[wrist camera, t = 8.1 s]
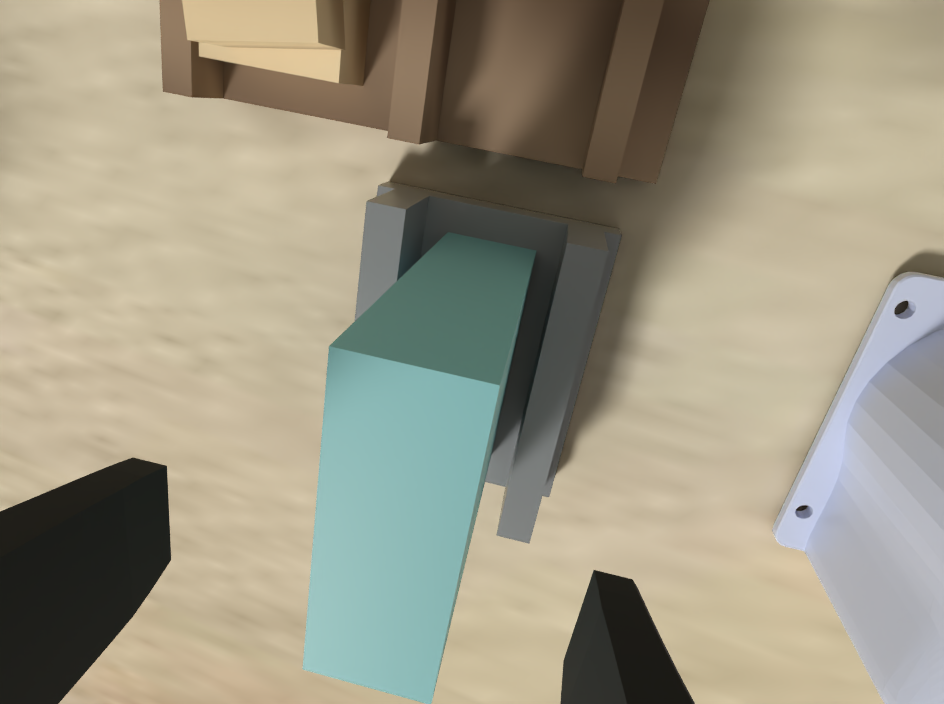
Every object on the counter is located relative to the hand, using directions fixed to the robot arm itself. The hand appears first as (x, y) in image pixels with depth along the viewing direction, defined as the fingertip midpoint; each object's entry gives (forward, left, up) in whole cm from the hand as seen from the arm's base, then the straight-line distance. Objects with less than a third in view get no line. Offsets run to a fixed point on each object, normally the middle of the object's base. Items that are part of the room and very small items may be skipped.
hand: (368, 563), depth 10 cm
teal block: (0, 0, -9) cm, 9 cm away
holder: (0, 0, -10) cm, 10 cm away
